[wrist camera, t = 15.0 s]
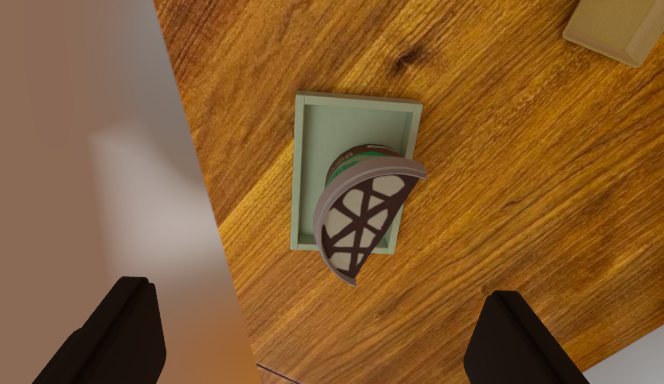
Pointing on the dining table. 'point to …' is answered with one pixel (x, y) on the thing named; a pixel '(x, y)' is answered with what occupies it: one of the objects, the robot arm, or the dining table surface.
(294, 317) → the dining table surface
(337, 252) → the food container
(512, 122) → the dining table surface
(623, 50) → the saucer
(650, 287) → the dining table surface
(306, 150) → the tray
